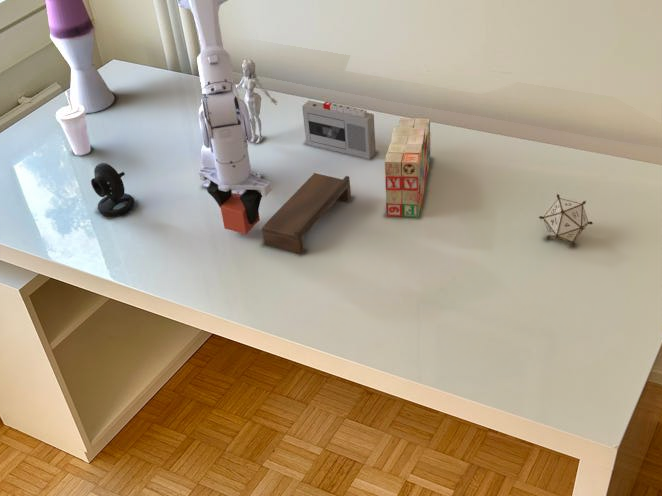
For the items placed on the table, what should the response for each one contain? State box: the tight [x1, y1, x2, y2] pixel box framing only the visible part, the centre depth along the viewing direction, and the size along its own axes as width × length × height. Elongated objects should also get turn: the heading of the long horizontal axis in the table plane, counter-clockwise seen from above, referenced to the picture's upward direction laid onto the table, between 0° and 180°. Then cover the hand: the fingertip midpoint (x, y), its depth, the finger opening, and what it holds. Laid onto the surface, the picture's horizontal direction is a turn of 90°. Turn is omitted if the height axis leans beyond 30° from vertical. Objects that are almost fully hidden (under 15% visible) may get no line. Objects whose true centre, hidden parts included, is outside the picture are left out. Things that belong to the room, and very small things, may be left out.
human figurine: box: [235, 58, 278, 144], centre depth 187 cm, size 12×4×18 cm, turn 60°
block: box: [220, 193, 261, 235], centre depth 166 cm, size 5×5×5 cm
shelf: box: [261, 172, 352, 255], centre depth 168 cm, size 8×20×5 cm, turn 151°
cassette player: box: [301, 100, 377, 160], centre depth 184 cm, size 16×3×10 cm, turn 59°
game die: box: [538, 193, 594, 247], centre depth 156 cm, size 9×8×10 cm
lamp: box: [45, 0, 115, 114], centre depth 199 cm, size 11×11×40 cm
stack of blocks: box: [384, 117, 431, 218], centre depth 171 cm, size 21×6×12 cm, turn 168°
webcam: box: [90, 162, 135, 218], centre depth 175 cm, size 8×8×10 cm
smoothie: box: [55, 90, 92, 156], centre depth 191 cm, size 6×6×14 cm
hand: (241, 218), depth 166 cm, fingers closed on block, 5 cm apart
